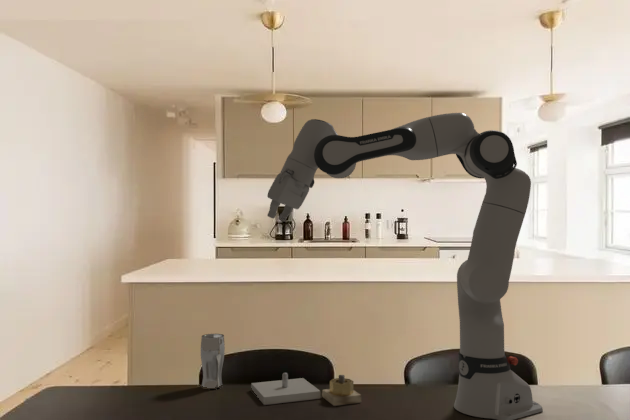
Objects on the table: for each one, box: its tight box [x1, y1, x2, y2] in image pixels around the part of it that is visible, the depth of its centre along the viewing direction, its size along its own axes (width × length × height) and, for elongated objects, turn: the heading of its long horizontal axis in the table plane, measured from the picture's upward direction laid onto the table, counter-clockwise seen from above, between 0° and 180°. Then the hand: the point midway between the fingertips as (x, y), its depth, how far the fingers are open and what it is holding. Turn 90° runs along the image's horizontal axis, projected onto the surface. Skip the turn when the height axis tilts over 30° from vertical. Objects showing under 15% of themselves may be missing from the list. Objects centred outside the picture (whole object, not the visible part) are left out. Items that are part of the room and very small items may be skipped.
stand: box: [321, 374, 362, 407], centre depth 142 cm, size 8×8×6 cm
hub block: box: [250, 372, 321, 406], centre depth 146 cm, size 16×14×6 cm
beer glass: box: [200, 333, 226, 388], centre depth 153 cm, size 7×7×15 cm
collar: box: [329, 377, 354, 396], centre depth 142 cm, size 6×6×3 cm
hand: (276, 219), depth 144 cm, fingers open, 8 cm apart
